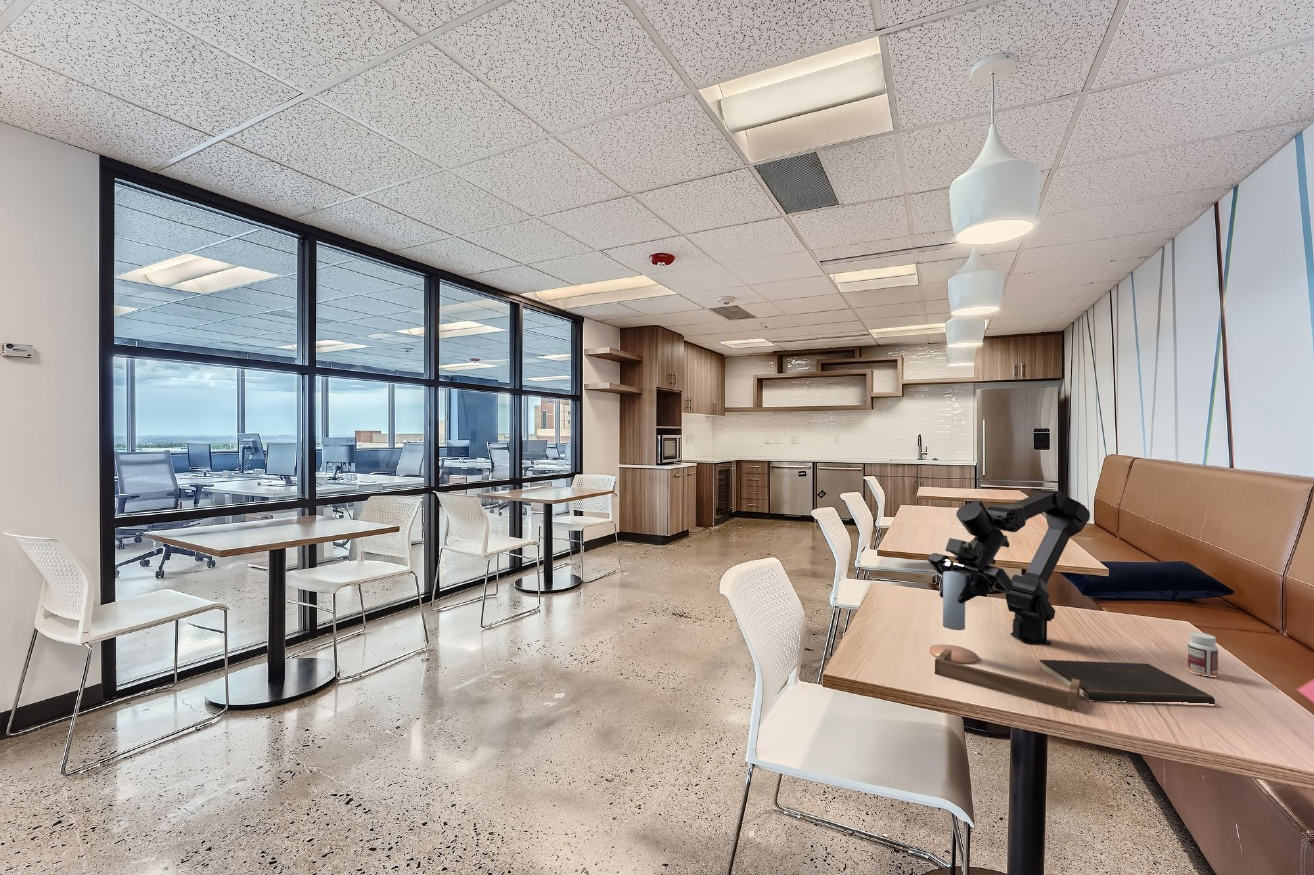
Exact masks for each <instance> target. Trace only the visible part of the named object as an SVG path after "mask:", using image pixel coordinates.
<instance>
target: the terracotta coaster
mask: <svg viewBox="0 0 1314 875" xmlns="http://www.w3.org/2000/svg"><path fill="white" fill-rule="evenodd" d="M945 649H950V650H952V652H951V662H954V663H958V664H962V665H966V664H974V663H977V661H978V660H979V658H978V655H977V653H975V652H974V651H973V650H971V649H968V648H965V647H962V646H959V645H952V644H943V643H942V644H939V643H938V644H934V645H933V644H932V645H931V646H929V650H928V651H929V654H931V656H933V657H934V658H937V657H938V656H939V655H940V654H941V653H942V652H943V651H944V650H945Z"/></svg>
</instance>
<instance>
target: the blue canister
mask: <svg viewBox="0 0 1314 875" xmlns="http://www.w3.org/2000/svg"><path fill="white" fill-rule="evenodd" d="M966 576H967V575H966V574H964V573H961V572H955V571H945V572H943V598H942V626H943V627H944V628H946V629H948V630H952V631H953V630H954V631H964V630H966V602H964V603H962V604H960V603H959V602H958V599H959V597H960V595H961V593H962V592H963V590H964V588H965V587H966V585H967V583H966V578H967V577H966Z"/></svg>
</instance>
